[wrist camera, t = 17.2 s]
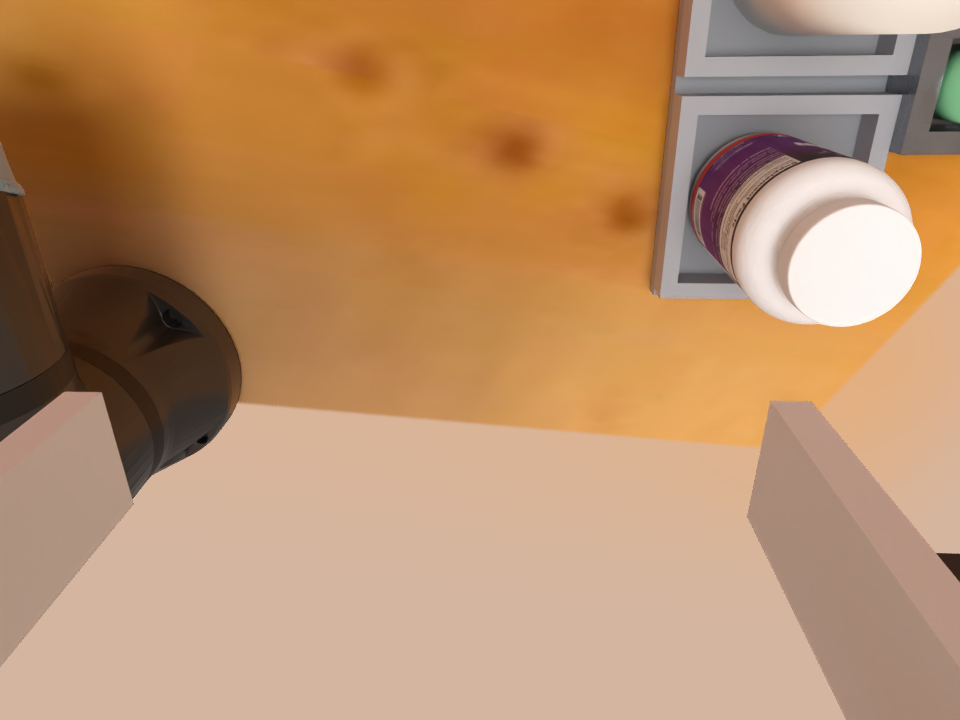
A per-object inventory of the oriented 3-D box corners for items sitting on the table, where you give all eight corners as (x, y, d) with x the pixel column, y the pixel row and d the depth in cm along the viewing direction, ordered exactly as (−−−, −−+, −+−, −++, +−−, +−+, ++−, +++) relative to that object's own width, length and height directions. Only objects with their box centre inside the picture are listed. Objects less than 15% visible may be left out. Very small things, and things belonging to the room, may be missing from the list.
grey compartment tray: (649, 288, 46) (658, 305, 43) (699, -189, 35) (716, -210, 32) (829, 289, 45) (850, 306, 42) (938, -195, 34) (977, -217, 31)
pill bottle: (843, 197, 42) (994, 269, 29) (736, 284, 44) (829, 386, 31) (765, 99, 39) (889, 129, 26) (657, 197, 42) (721, 268, 29)
